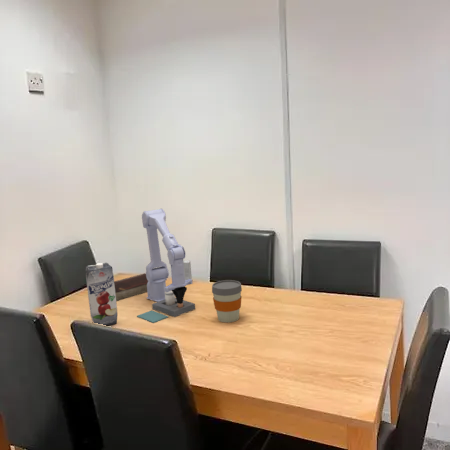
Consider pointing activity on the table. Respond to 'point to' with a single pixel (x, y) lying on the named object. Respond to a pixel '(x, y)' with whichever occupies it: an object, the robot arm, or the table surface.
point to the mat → (152, 316)
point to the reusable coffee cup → (227, 299)
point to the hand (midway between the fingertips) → (180, 303)
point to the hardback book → (130, 286)
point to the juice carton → (101, 293)
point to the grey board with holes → (173, 307)
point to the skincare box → (187, 270)
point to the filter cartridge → (169, 298)
